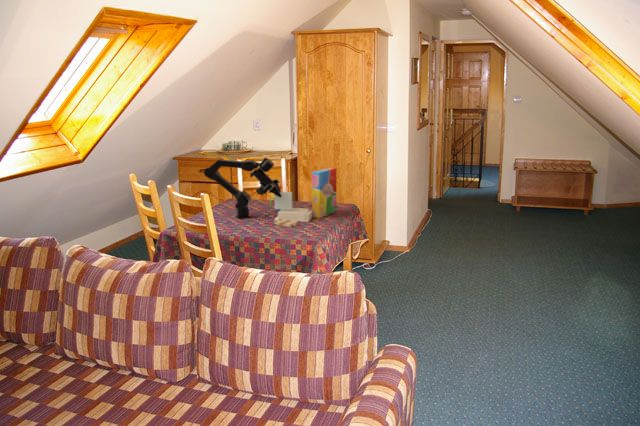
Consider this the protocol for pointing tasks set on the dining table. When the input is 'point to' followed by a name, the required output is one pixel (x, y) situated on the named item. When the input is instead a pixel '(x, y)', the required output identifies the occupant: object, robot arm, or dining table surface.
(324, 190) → the game box
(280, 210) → the snack cup
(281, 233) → the dining table surface
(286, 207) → the pale grey tapered slat
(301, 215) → the rack
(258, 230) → the dining table surface
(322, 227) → the dining table surface
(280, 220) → the stand
